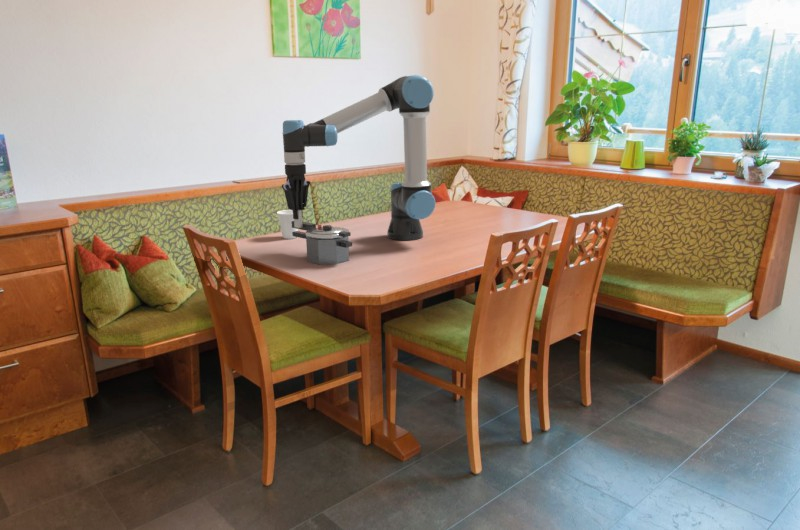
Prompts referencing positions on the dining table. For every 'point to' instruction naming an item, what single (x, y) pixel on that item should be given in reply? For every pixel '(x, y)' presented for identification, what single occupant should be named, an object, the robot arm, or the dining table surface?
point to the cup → (286, 223)
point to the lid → (323, 231)
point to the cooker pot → (326, 249)
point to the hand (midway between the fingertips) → (298, 227)
